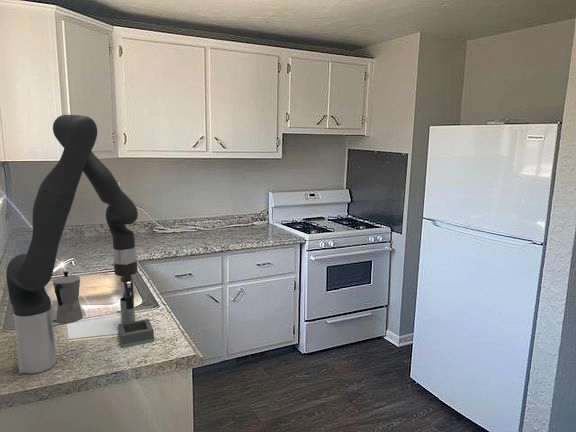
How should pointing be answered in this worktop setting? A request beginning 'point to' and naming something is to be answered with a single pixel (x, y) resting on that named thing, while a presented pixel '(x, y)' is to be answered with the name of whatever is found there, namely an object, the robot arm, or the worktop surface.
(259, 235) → the worktop surface
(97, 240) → the worktop surface
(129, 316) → the dark grey cylinder
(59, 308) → the coffeepot
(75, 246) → the worktop surface
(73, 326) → the worktop surface
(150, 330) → the socket board
